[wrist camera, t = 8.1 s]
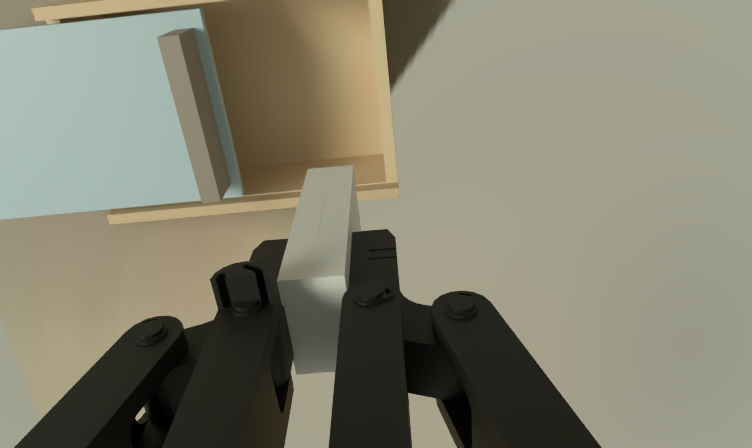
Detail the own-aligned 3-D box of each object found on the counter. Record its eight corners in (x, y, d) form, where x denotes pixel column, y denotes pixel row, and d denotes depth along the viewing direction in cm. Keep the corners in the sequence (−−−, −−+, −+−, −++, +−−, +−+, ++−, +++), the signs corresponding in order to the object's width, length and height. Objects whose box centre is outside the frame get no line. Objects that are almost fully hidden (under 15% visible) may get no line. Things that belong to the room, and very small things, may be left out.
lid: (-111, 41, 33) (-160, 52, 30) (201, 7, 32) (184, 14, 29) (-25, 218, 39) (-59, 242, 36) (244, 192, 38) (233, 214, 35)
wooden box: (90, -4, 38) (31, 8, 31) (378, -36, 37) (379, -31, 31) (149, 182, 44) (110, 224, 38) (395, 158, 44) (399, 197, 37)
